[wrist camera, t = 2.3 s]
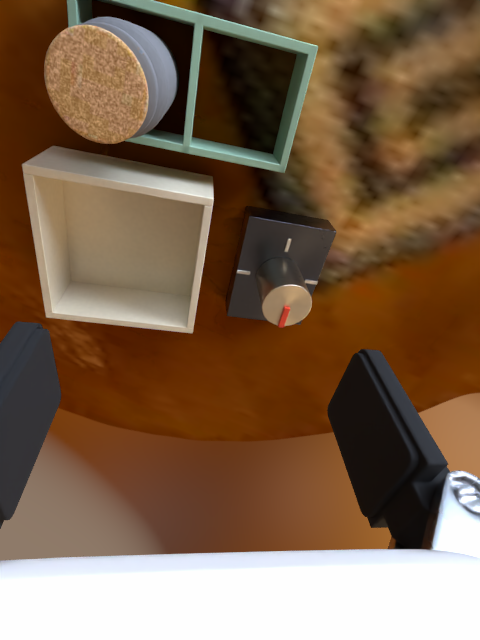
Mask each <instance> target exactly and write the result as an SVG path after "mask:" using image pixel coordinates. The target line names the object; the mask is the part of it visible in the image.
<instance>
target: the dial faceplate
mask: <svg viewBox="0 0 480 640" xmlns="http://www.w3.org/2000/svg"><path fill="white" fill-rule="evenodd" d="M335 234H336V230H335V229H334V228H333V226H332V225H331V223H330V222H329V221H328V220H324V219H318V218H312V217H307V216H301V215H296V214H290V213H285V212H279V211H274V210H268V209H263V208H257V207H252V206H246V211H245V215H244V220H243V224H242V229H241V234H240V238H239V243H238V247H237V252H236V257H235V261H234V266H233V270H232V275H231V280H230V284H229V289H228V293H227V298H226V311H227V316H232V317H241V318H249V319H257V320H266V321H268V320H267V319H266V318H265V316H264V315H263V312H262V307H261V303H260V298H259V293H258V289H257V284H256V274H257V271H258V269H259V268H260V267H261V265H262V264H264V263H265V262H266V261H268V260H270V259H273V258H277V257H283V258H288V259H290V260H292V261H293V262H295V263H296V264H297V266H298V268H299V270H300V272H301V274H302V277H303V279H304V281H305V284H306V286H307V288H308V291H309V293H310V295H311V296H312V293H313V291H314V288H315V286H316V285H317V282H318V281H317V280H318V278H319V275H320V273H321V270H322V268H323V265H324V262H325V260H326V257H327V255H328V252H329V250H330V247H331V245H332V242H333V239H334V237H335ZM301 321H302V320H301ZM301 321H300V322H298V323H296V324H299V325H300V324H301Z"/></svg>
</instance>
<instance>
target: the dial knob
mask: <svg viewBox="0 0 480 640" xmlns="http://www.w3.org/2000/svg"><path fill="white" fill-rule="evenodd" d="M256 284H257V289H258V293H259V298H260V303H261V307H262V312H263V315H264V316H265V318H266V319H267V320H268V321H269V322H271V323H273V324H275V325H278V327H281V328H284V326H288V325H293V324H296V323H298V322H300V321H301V320H303V319H304V318H305V317H306V316H307V315H308V313H309V312H310V309H311V306H312V298H311V295H310V293H309V291H308V288H307V286H306V284H305V281H304V279H303V277H302V274H301V272H300V270H299V268H298V266H297V264H296V263H295V262H293V261H292V260H290V259H288V258H283V257H277V258H273V259H270V260H268V261H266V262H265V263H264V264H262V265H261V267H260V268H259V269H258V271H257V274H256Z"/></svg>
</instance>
